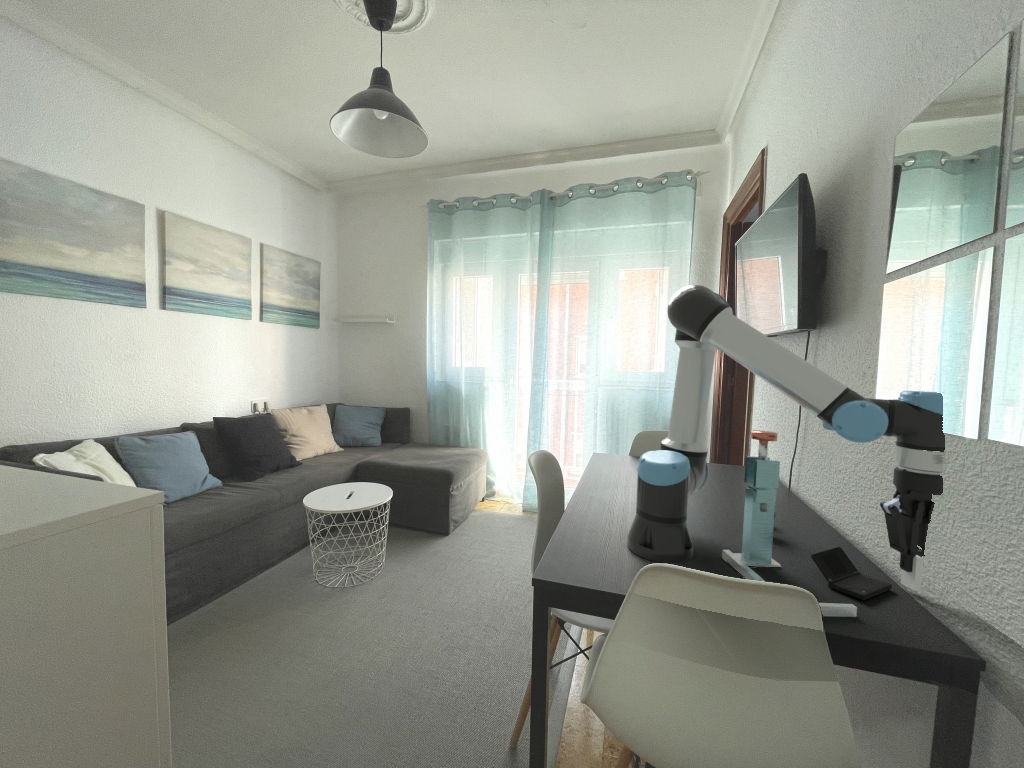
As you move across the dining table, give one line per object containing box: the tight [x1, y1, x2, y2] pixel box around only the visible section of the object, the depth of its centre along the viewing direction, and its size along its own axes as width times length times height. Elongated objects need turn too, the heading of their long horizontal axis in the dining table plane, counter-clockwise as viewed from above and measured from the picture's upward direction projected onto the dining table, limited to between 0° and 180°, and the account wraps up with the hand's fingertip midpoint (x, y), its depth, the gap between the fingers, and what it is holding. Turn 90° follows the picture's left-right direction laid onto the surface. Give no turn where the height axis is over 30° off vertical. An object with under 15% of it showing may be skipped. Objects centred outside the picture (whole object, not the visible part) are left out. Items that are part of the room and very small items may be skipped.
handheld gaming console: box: [810, 546, 893, 601], centre depth 83 cm, size 11×10×4 cm
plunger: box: [750, 429, 778, 460], centre depth 91 cm, size 5×5×8 cm
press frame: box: [721, 455, 858, 618], centre depth 83 cm, size 13×22×24 cm, turn 179°
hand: (910, 586), depth 80 cm, fingers closed
